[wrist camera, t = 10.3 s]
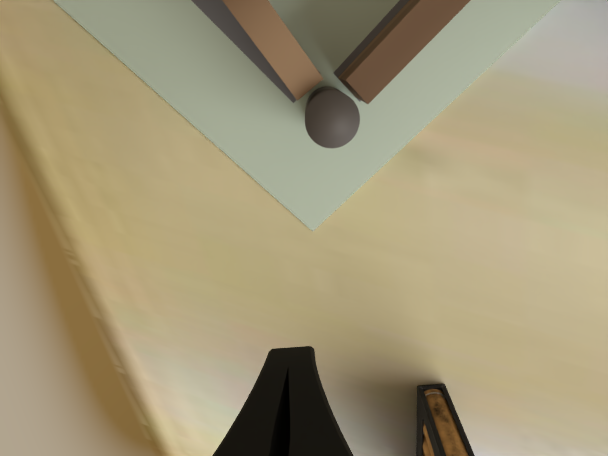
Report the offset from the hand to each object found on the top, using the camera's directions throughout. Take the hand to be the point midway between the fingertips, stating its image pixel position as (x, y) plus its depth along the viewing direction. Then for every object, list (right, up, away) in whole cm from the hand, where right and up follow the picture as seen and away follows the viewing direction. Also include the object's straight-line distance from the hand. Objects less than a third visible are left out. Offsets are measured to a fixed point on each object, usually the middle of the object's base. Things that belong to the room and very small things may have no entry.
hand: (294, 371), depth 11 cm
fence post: (+4, +13, +5) cm, 14 cm away
